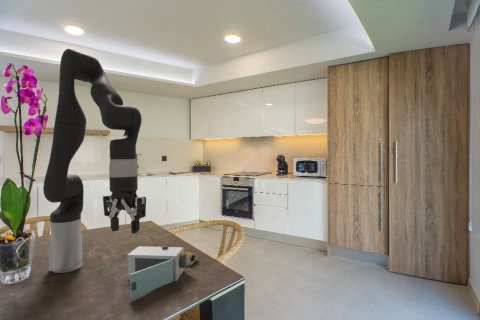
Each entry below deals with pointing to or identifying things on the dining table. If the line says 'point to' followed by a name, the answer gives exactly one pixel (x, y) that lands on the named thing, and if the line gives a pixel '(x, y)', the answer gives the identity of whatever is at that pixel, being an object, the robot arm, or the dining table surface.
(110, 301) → the dining table surface
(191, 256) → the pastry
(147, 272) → the door
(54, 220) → the robot arm
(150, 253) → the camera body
